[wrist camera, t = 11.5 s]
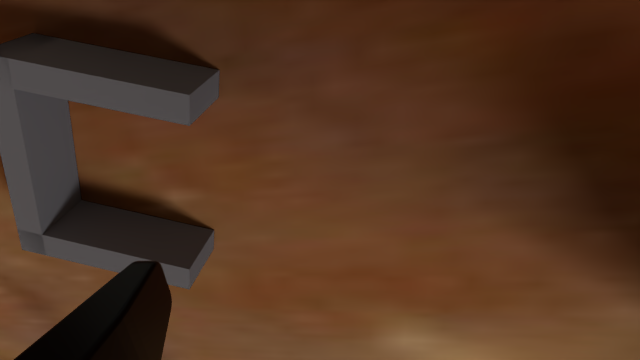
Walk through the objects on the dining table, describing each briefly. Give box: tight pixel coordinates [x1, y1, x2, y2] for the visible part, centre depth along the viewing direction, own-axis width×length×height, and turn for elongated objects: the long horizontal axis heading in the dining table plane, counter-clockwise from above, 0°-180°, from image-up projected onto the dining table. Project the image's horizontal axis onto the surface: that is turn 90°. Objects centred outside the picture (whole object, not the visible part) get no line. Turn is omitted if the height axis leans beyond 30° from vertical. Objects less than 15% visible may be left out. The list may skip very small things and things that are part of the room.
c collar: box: [0, 33, 219, 289], centre depth 21 cm, size 8×9×3 cm
